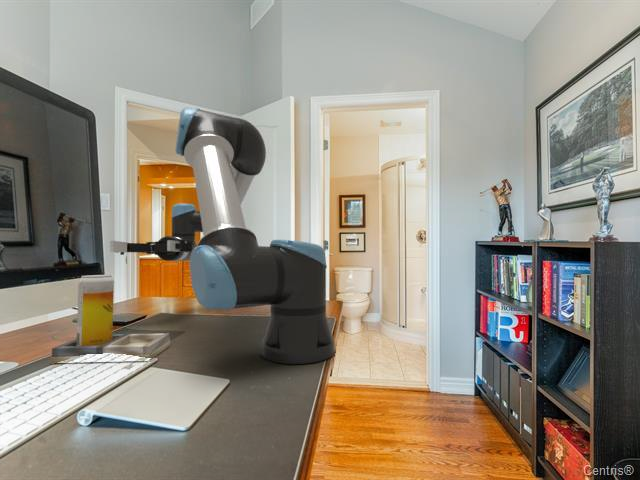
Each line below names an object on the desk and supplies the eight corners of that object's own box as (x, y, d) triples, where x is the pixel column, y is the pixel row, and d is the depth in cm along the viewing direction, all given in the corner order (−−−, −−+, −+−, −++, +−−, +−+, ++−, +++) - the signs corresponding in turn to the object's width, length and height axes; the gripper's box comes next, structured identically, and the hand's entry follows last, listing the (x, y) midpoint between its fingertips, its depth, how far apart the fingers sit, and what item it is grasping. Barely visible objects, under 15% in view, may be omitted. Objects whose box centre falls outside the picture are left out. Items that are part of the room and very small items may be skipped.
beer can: (117, 346, 68) (119, 275, 69) (84, 354, 63) (86, 277, 63) (103, 342, 71) (105, 274, 72) (71, 349, 66) (73, 276, 67)
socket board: (170, 345, 73) (170, 332, 73) (148, 361, 62) (148, 347, 62) (87, 347, 72) (87, 334, 72) (49, 364, 61) (50, 349, 61)
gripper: (213, 260, 102) (192, 260, 81) (130, 261, 100) (87, 262, 79) (213, 236, 102) (192, 230, 81) (131, 237, 100) (87, 231, 79)
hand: (140, 245), depth 80 cm, fingers open, 13 cm apart
